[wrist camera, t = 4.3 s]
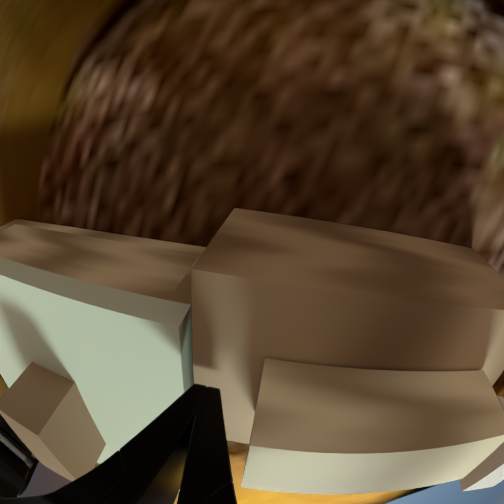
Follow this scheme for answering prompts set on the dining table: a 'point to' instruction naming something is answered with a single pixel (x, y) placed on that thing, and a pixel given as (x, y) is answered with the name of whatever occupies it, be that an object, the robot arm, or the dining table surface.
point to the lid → (86, 364)
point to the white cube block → (486, 469)
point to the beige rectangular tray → (294, 296)
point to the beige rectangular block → (368, 428)
